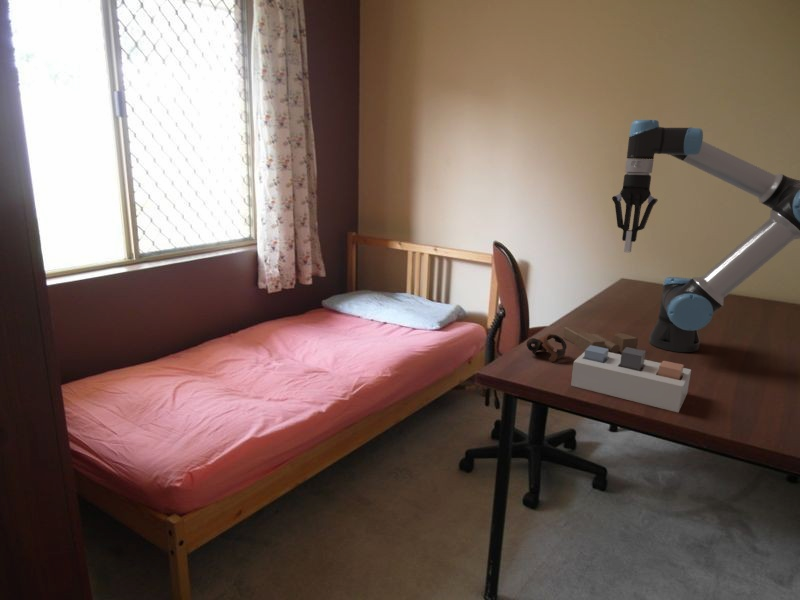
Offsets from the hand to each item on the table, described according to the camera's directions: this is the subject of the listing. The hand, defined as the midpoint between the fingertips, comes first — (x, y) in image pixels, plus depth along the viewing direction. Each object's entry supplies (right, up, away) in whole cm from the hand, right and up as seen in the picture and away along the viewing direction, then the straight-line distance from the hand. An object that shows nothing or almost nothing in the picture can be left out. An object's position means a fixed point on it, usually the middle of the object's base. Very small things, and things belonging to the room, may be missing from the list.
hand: (627, 251), depth 176 cm
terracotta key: (-1, -37, -28) cm, 46 cm away
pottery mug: (-26, -33, +1) cm, 42 cm away
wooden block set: (-4, -31, +14) cm, 34 cm away
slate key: (-16, -33, -18) cm, 41 cm away
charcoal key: (-8, -34, -24) cm, 42 cm away
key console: (-9, -39, -22) cm, 46 cm away
